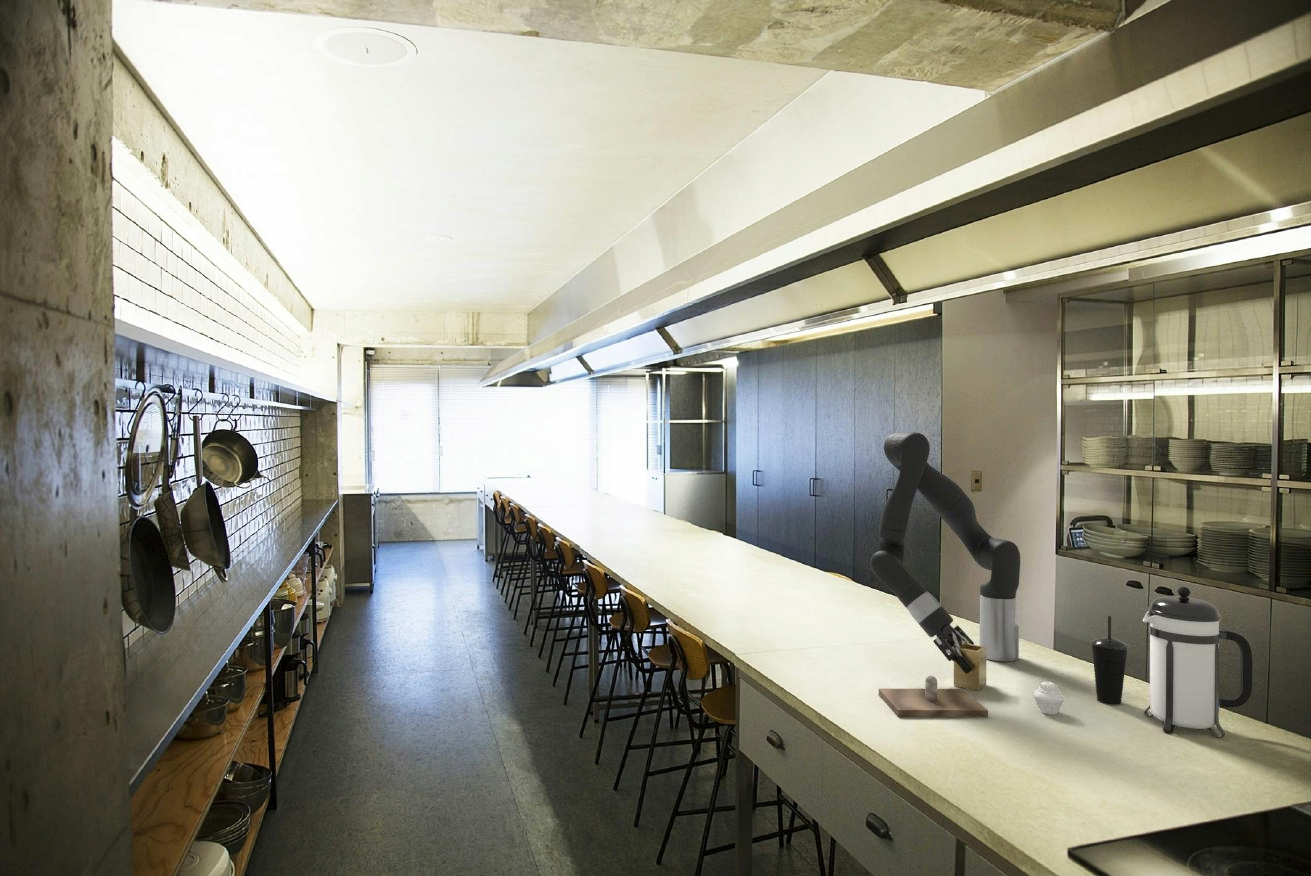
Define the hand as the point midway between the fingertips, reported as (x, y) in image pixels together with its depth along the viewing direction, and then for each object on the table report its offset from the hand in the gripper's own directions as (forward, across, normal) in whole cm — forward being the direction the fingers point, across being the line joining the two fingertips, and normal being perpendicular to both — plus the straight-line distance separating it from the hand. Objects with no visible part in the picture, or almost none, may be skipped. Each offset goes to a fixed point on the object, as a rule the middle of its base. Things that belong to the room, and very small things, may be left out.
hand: (975, 667), depth 185 cm
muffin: (+16, -7, -9) cm, 20 cm away
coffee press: (+34, +3, -27) cm, 43 cm away
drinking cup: (+23, +10, -16) cm, 29 cm away
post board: (+1, -20, +6) cm, 21 cm away
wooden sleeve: (+2, 0, +4) cm, 5 cm away
